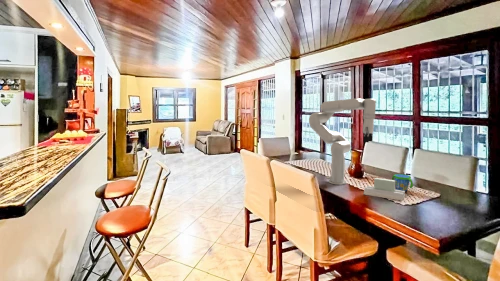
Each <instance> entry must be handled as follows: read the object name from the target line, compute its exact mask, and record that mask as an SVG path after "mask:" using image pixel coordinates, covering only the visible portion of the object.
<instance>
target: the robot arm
mask: <svg viewBox="0 0 500 281" xmlns="http://www.w3.org/2000/svg"><path fill="white" fill-rule="evenodd" d="M376 103H377V102H376V99H375V98H365V99H364V98H348V99H346V98H345V99H338V100H328V101H327V100H326V101H324V102H322V103H321V105H320V109H321V112H319V111H317V112H313V113H311V114H310V115H309V117H308V124H309V126H310V128H311V129H312V130H313V131H314V132H315V133H316V134H317V135H318V136H319V137H320V139H321V140H322V141H323V142H324V143H325V144H328V145H330V144H331V146H330V153H331V167H330V168H331V170H330V171H331V174H330V176H328V175H326V176H325V179H326V180H328V183H329V184H332V185H337V186H338V185H346V184H347V181H346V180H345V167H346V163H345V162H346V158H345V154H347V153H349V151H350V150H351V149H352V147H351V143H350V141H348V140H347V139H346V138H345V136H343V135H342V133H340V132H338V131H336V130H332V131H331V130H330V129H329V128H327V126H325V123H327V122H328V121H329V120H330V119H331V118H332V117H333V115H334V114H335V113H339V112H343V111H349V110H350V111H352V110H353V111H354V110H355V111H357V110H363V116H362V117H363V118H362V119H363V126H362V133H363V143H370V142H373V139H374V138H373V137H374V136H373V134H374V123H375V122H374V121H375V120H376V105H377V104H376Z"/></svg>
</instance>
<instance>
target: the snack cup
mask: <svg viewBox="0 0 500 281" xmlns="http://www.w3.org/2000/svg"><path fill="white" fill-rule="evenodd" d="M391 180H395V190H401V191H405V192H407V191H408V189H409V188H410V189H412V188H413V186H414V182H413V180H412V176H411V175H408V174H402V173H401V174H400V173H398V174H397V173H395V174H394V175H392V177H391Z"/></svg>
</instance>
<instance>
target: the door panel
mask: <svg viewBox="0 0 500 281" xmlns="http://www.w3.org/2000/svg"><path fill="white" fill-rule="evenodd" d="M373 183H374V184H373V187H374V189H378V190H385V191H392V192H395V190H396V189H395V179H394V180H392V179H387V178H386V179H385V178H378V177H375V178H374V182H373Z"/></svg>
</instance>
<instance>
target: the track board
mask: <svg viewBox="0 0 500 281" xmlns="http://www.w3.org/2000/svg"><path fill="white" fill-rule="evenodd" d="M405 193H406V191H401V190H396V189H395V192H392V191H385V190H378V189H374V185H373V186H371V185H367V186H366V187H364V191H363V195H366V196H372V197H379V198H385V199H389V200H390V199H391V200H397V201H403V200H404V199H405V197H406V194H405Z"/></svg>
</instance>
